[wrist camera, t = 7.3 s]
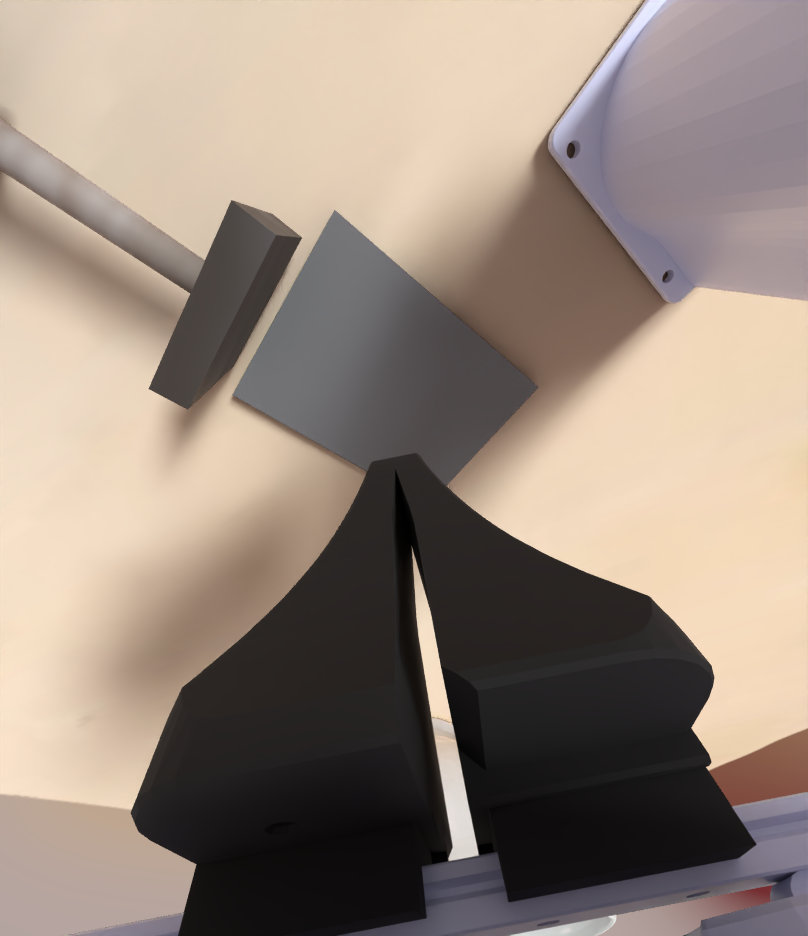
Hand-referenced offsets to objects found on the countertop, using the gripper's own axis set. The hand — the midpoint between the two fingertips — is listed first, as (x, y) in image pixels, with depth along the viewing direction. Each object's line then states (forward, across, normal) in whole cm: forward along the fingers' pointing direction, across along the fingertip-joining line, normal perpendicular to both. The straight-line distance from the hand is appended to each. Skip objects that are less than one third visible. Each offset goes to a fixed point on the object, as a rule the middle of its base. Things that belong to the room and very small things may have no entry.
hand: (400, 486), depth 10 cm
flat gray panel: (+9, 0, 0) cm, 9 cm away
